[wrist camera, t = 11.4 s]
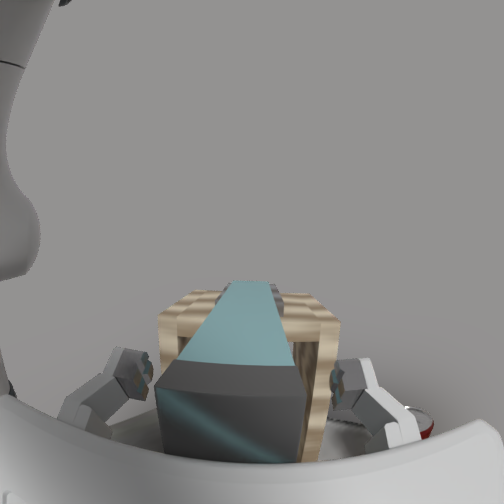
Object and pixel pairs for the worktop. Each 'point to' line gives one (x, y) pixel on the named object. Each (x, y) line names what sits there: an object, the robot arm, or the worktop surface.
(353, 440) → the worktop surface
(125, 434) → the worktop surface
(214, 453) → the grey-capped teal beam
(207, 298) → the birch stand
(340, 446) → the worktop surface
